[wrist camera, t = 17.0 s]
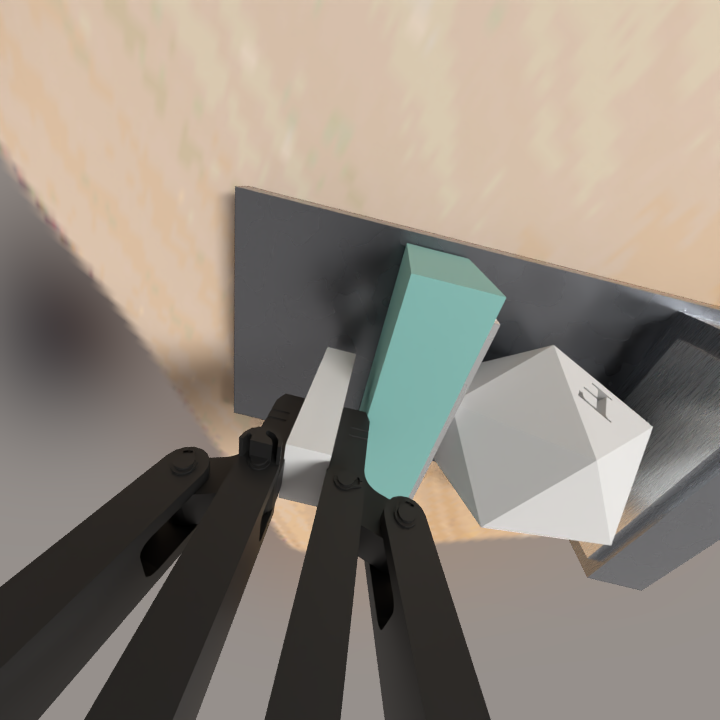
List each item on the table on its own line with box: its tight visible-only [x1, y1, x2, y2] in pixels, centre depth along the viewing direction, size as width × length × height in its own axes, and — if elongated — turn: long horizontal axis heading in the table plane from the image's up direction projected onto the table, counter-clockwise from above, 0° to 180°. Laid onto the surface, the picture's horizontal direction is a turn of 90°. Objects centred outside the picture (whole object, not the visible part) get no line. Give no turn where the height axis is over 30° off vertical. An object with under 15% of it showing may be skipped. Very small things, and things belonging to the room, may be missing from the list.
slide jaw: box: [359, 243, 506, 499], centre depth 15 cm, size 13×3×6 cm, turn 168°
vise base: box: [234, 186, 720, 590], centre depth 16 cm, size 14×26×8 cm, turn 78°
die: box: [434, 345, 653, 545], centre depth 15 cm, size 8×9×10 cm
